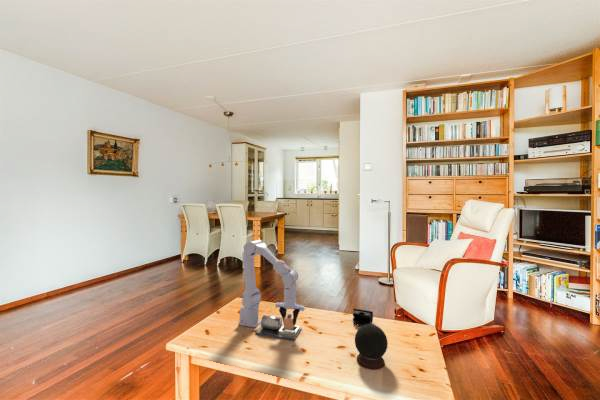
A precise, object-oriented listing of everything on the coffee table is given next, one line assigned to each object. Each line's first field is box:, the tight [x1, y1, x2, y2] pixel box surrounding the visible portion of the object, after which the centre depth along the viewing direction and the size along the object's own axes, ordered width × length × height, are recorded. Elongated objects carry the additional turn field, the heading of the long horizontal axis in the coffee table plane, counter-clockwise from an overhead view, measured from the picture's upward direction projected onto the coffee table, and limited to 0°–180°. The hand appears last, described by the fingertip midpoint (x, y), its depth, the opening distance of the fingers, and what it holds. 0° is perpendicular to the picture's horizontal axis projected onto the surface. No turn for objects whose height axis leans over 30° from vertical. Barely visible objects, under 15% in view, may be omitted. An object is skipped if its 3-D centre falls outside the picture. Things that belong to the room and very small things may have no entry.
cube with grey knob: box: [283, 313, 296, 329], centre depth 142 cm, size 4×4×6 cm
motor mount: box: [255, 314, 303, 342], centre depth 143 cm, size 20×12×7 cm, turn 73°
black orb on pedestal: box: [354, 323, 389, 371], centre depth 119 cm, size 13×13×15 cm
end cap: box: [352, 307, 374, 326], centre depth 155 cm, size 10×7×7 cm
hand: (289, 323), depth 142 cm, fingers closed on cube with grey knob, 4 cm apart
